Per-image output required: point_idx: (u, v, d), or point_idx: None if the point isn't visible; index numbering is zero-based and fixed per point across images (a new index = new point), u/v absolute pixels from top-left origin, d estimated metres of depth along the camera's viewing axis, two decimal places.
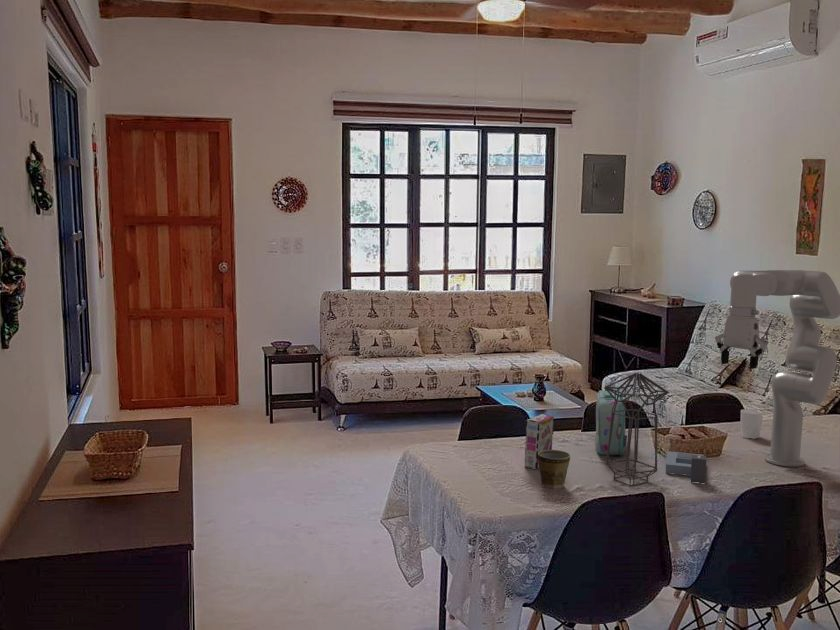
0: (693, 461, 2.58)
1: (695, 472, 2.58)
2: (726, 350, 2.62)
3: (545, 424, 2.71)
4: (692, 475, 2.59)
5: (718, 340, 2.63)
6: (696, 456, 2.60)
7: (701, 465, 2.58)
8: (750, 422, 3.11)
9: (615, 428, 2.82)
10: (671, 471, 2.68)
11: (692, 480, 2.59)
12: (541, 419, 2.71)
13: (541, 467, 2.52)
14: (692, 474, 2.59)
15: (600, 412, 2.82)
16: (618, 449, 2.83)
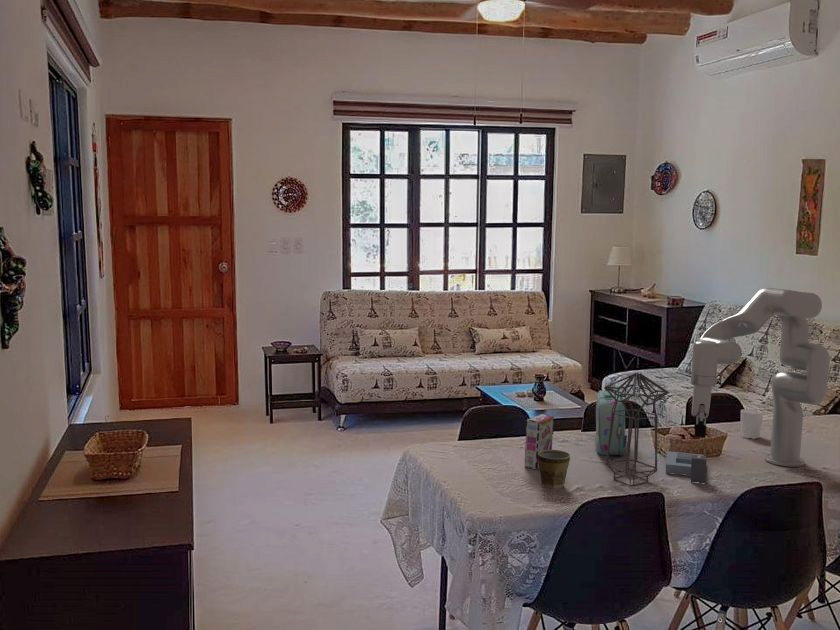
0: (693, 461, 2.58)
1: (695, 472, 2.58)
2: None
3: (545, 424, 2.71)
4: (692, 475, 2.59)
5: None
6: (696, 456, 2.60)
7: (701, 465, 2.58)
8: (750, 422, 3.11)
9: (615, 428, 2.82)
10: (671, 471, 2.68)
11: (692, 480, 2.59)
12: (541, 419, 2.71)
13: (541, 467, 2.52)
14: (692, 474, 2.59)
15: (600, 412, 2.82)
16: (618, 449, 2.83)
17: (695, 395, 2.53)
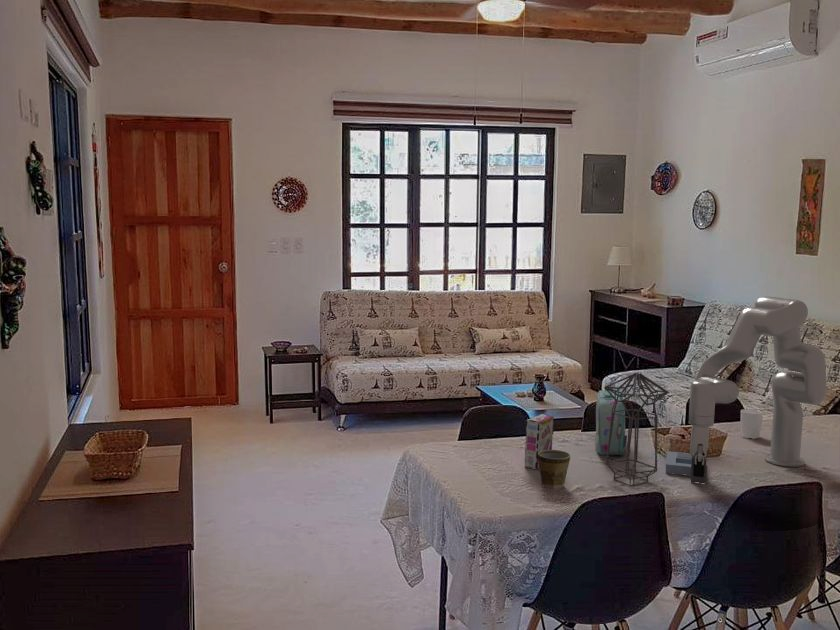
0: (693, 461, 2.58)
1: None
2: None
3: (545, 424, 2.71)
4: (692, 475, 2.59)
5: None
6: None
7: None
8: (750, 422, 3.11)
9: (615, 428, 2.82)
10: (671, 471, 2.68)
11: (692, 480, 2.59)
12: (541, 419, 2.71)
13: (541, 467, 2.52)
14: (692, 474, 2.59)
15: (600, 412, 2.82)
16: (618, 449, 2.83)
17: (693, 435, 2.55)
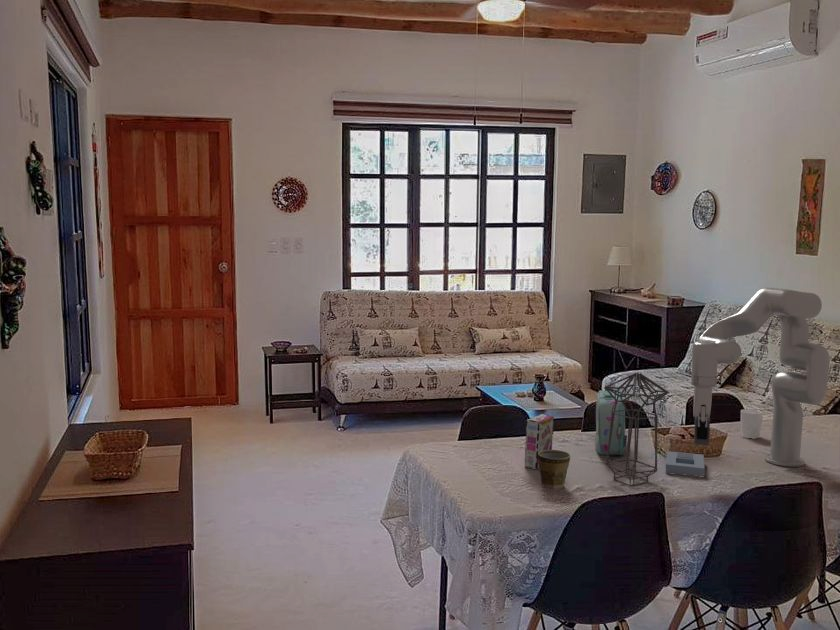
0: (696, 422, 2.57)
1: None
2: None
3: (545, 424, 2.71)
4: (696, 436, 2.58)
5: None
6: None
7: None
8: (750, 422, 3.11)
9: (615, 428, 2.82)
10: (671, 471, 2.68)
11: (696, 442, 2.58)
12: (541, 419, 2.71)
13: (541, 467, 2.52)
14: (696, 435, 2.57)
15: (600, 412, 2.82)
16: (618, 449, 2.83)
17: (696, 396, 2.54)
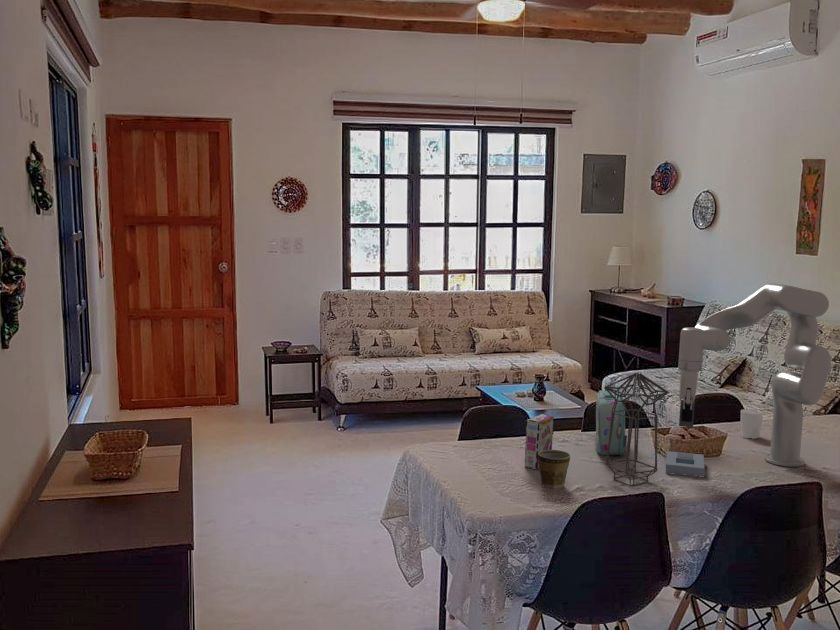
0: (682, 405, 2.68)
1: None
2: None
3: (545, 424, 2.71)
4: (681, 419, 2.68)
5: (689, 402, 2.64)
6: None
7: None
8: (750, 422, 3.11)
9: (615, 428, 2.82)
10: (671, 471, 2.68)
11: (680, 423, 2.68)
12: (541, 419, 2.71)
13: (541, 467, 2.52)
14: (681, 418, 2.68)
15: (600, 412, 2.82)
16: (618, 449, 2.83)
17: (682, 379, 2.65)
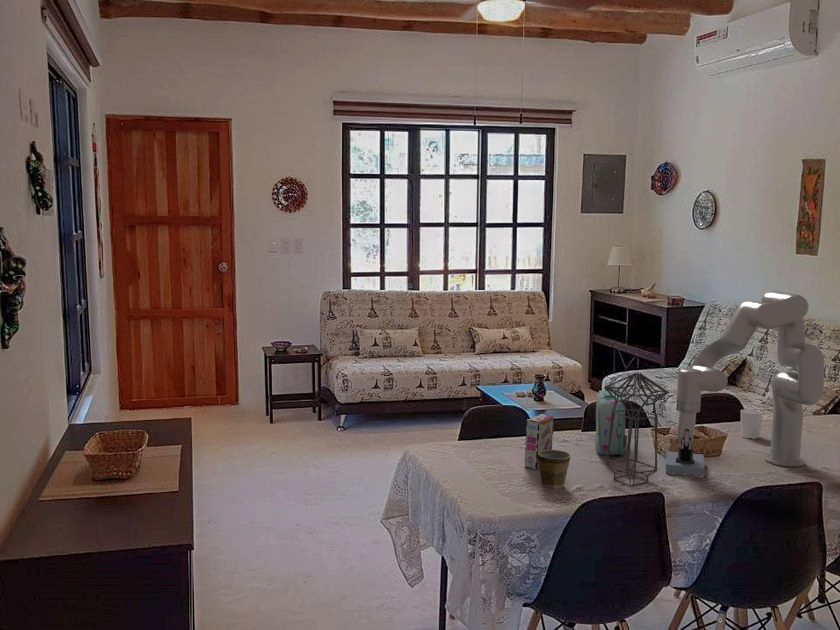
0: (680, 450, 2.70)
1: (682, 461, 2.70)
2: None
3: (545, 424, 2.71)
4: None
5: None
6: (683, 446, 2.72)
7: None
8: (750, 422, 3.11)
9: (615, 428, 2.82)
10: (671, 471, 2.68)
11: None
12: (541, 419, 2.71)
13: (541, 467, 2.52)
14: None
15: (600, 412, 2.82)
16: (618, 449, 2.83)
17: (680, 421, 2.66)
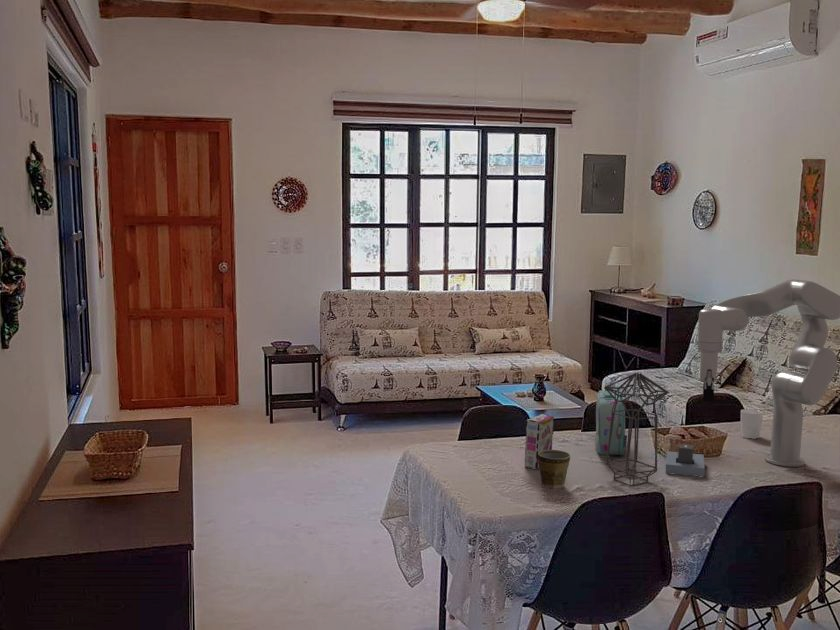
0: (680, 450, 2.70)
1: (682, 461, 2.70)
2: None
3: (545, 424, 2.71)
4: None
5: None
6: (683, 446, 2.72)
7: (687, 454, 2.69)
8: (750, 422, 3.11)
9: (615, 428, 2.82)
10: (671, 471, 2.68)
11: None
12: (541, 419, 2.71)
13: (541, 467, 2.52)
14: None
15: (600, 412, 2.82)
16: (618, 449, 2.83)
17: (702, 361, 2.64)
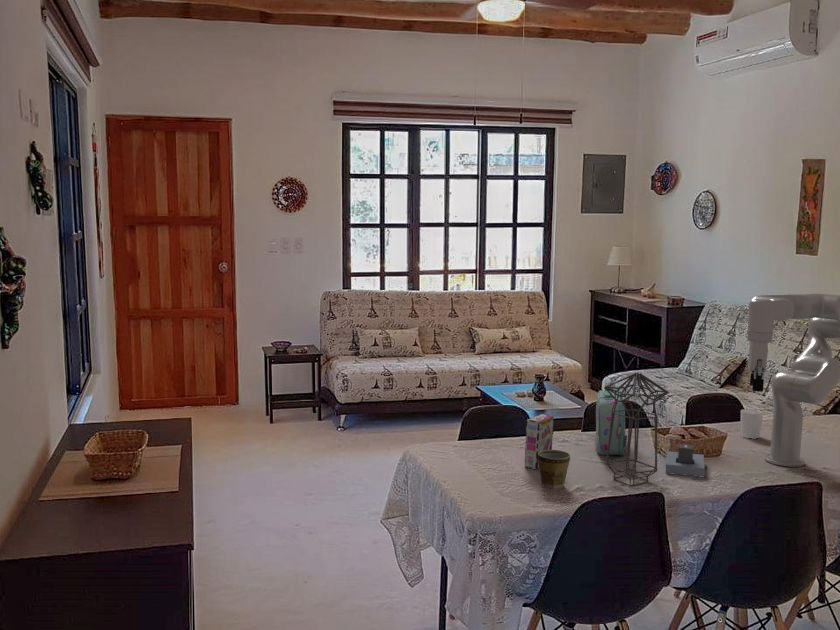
0: (680, 450, 2.70)
1: (682, 461, 2.70)
2: None
3: (545, 424, 2.71)
4: None
5: None
6: (683, 446, 2.72)
7: (687, 454, 2.69)
8: (750, 422, 3.11)
9: (615, 428, 2.82)
10: (671, 471, 2.68)
11: None
12: (541, 419, 2.71)
13: (541, 467, 2.52)
14: None
15: (600, 412, 2.82)
16: (618, 449, 2.83)
17: (753, 351, 2.63)
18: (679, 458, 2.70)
